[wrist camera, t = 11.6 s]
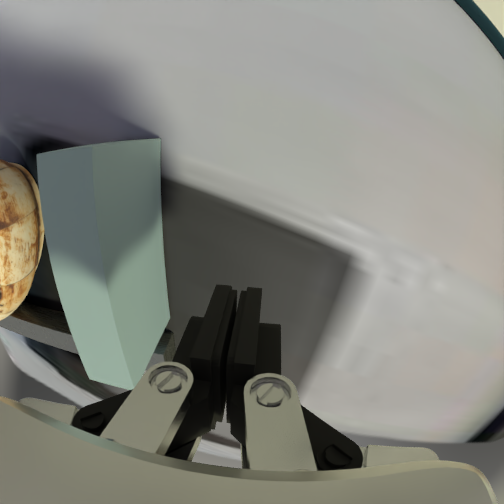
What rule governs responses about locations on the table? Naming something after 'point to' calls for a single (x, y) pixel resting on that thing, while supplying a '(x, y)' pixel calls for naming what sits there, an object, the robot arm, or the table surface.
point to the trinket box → (18, 235)
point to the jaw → (108, 252)
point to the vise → (67, 331)
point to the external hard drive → (488, 18)
